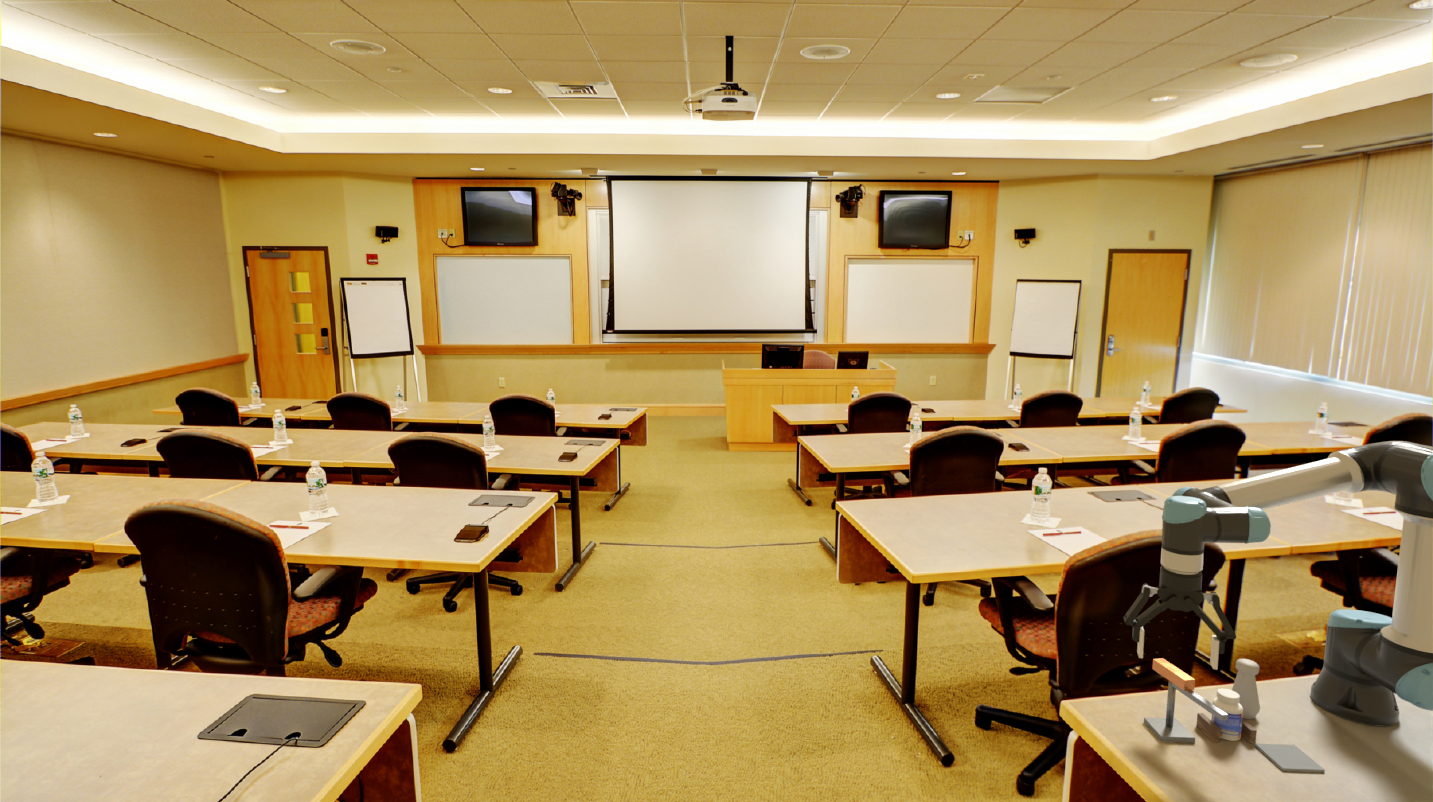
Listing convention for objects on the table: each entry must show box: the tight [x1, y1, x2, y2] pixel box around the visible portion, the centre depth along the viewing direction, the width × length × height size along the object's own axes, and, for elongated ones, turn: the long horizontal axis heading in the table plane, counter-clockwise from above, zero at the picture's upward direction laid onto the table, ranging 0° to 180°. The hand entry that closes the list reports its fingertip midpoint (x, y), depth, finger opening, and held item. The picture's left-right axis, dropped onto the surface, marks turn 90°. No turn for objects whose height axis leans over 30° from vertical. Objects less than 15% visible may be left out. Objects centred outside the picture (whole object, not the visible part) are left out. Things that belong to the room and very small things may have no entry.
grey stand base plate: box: [1143, 717, 1196, 744], centre depth 151 cm, size 7×7×1 cm
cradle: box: [1196, 712, 1257, 744], centre depth 150 cm, size 9×6×3 cm
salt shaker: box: [1231, 658, 1261, 720], centre depth 156 cm, size 6×6×13 cm
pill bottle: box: [1210, 688, 1243, 742], centre depth 149 cm, size 5×5×10 cm
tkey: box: [1152, 657, 1228, 728], centre depth 145 cm, size 18×2×14 cm, turn 7°
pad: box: [1254, 743, 1326, 774], centre depth 141 cm, size 8×8×1 cm
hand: (1176, 660), depth 148 cm, fingers open, 13 cm apart
